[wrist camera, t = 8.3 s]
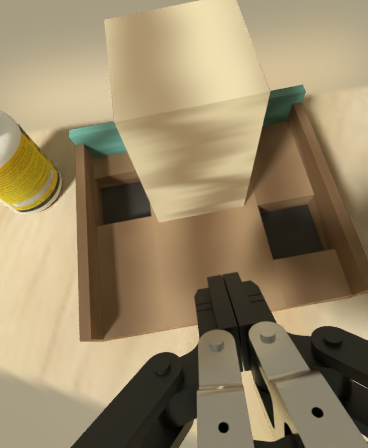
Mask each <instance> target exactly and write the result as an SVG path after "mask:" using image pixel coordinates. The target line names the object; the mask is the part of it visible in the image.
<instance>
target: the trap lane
mask: <svg viewBox="0 0 368 448" xmlns="http://www.w3.org/2000/svg"><path fill="white" fill-rule="evenodd" d="M305 92H306V91H305V89H304V87H303V85H299V86H294V87H289V88H284V89H278V90H273V91H270V95H269V100H268V104H267V108H266V113H265V117H264V121H263V126H262V130H261V134H260V139H259V143H258V147H257V151H256V156H255V160H254V164H253V169H252V173H251V177H250V182H249V186H248V190H247V195H246V199H245V203H244V206H243V207H238V208H232V209H227V210H222V211H217V212H211V213H206V214H201V215H196V216H190V217H185V218H180V219H175V220H169V221H164V222H159V221H158V219H157V217H156V215H155V212H154V210H153V208H152V206H151V203H150V201H149V199H148V197H147V195H146V192H145V190H144V188H143V186H142V183H141V181H140V179H139V177H138V174H137V172H136V170H135V168H134V165H133V163H132V161H131V159H130V156H129V154H128V152H127V150H126V147H125V145H124V143H123V141H122V138H121V136H120V134H119V132H118V130H117V127H116V125H115V123H114V121H113V122H108V123H103V124H98V125H93V126H88V127H82V128H77V129H72V130H69V138H70V139H71V141H72V142H73V144H74V145H75V170H76V210H77V250H78V289H79V329H80V341H93V342H103V341H109V340H114V339H120V338H125V337H131V336H137V335H142V334H148V333H154V332H159V331H165V330H170V329H176V328H182V327H187V326H193V325H198V321H197V314H196V306H195V299H194V296H195V294H196V292H197V290H198V289H203V288H208V283H207V277H210V276H216V275H222V277H223V274H227V273H233V272H238V273H239V276H240V278H241V281H242V282H244V281H250V280H251V281H252V282H254V283H255V284H256V285H258V286H259V288H260V290H261V292H262V295H263V296H264V298H265V301H266V302H267V305H268V307H269V309H270V311H271V312H272V311H277V310H283V309H289V308H294V307H300V306H305V305H311V304H317V303H322V302H328V301H334V300H339V299H345V298H350V297H353V296H356V295H359V294H362V293H366V292H368V260H367V258H366V256H365V253H364V251H363V248H362V246H361V243H360V241H359V239H358V236H357V234H356V231H355V229H354V227H353V224H352V222H351V219H350V217H349V214H348V212H347V210H346V207H345V205H344V202H343V200H342V198H341V195H340V193H339V190H338V188H337V185H336V183H335V181H334V178H333V176H332V173H331V171H330V169H329V166H328V164H327V161H326V159H325V156H324V154H323V152H322V149H321V147H320V144H319V142H318V140H317V137H316V135H315V132H314V130H313V127H312V125H311V123H310V120H309V118H308V115H307V113H306V111H305V108H304V106H303V103H302V100H303V98H304V95H305Z"/></svg>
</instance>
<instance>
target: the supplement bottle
mask: <svg viewBox="0 0 368 448" xmlns="http://www.w3.org/2000/svg"><path fill="white" fill-rule="evenodd" d="M61 186H62V178H61V175H60V172H59V171H58V169H57V168H56V167H55V165H54V164H53V163H52V162H51V161H50V160H49V159H48V157H47V156H46V155H45V154H44V153H43V152H42V151H41V150H40V148H39V147H38V146H37V145H36V144H35V143H34V142H33V141H32V139H31V138H30V137H29V136H28V135H27V134H26V133H25V131H24V130H23V129H22V128H21V127H20V126H19V124H17V123H16V121H15V120H14V119H13V118H12V117H10V116H9V115H8V114H6V113H5V112H3V111H0V203H2V204H3V205H4V206H6V207H7V208H9V209H11V210H12V211H14V212H17V213H20V214H33V213H37V212H40V211H42V210H44V209H46V208H47V207H49V206H50V205H51V204H52V203H53V202H54V201H55V200H56V198H57V197H58V195H59V193H60V190H61Z"/></svg>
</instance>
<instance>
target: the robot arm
mask: <svg viewBox="0 0 368 448" xmlns="http://www.w3.org/2000/svg"><path fill="white" fill-rule="evenodd" d="M207 283H208V288H203V289H198V290H197V292H196V294H195V296H194V299H195V306H196V314H197V321H198V329H199V342H198V344H197V346H196V347H195V348H194V349H193V350H192V351H191V352H190V353H188V354H186V355H184V356H182V357H178V356H177V355H176V354H174V353H170V352H163V353H159V354H156V355H155V356H153V357H152V358H150V359H149V360H148V361H147V362H146V364H145V365H144V366H143V367H142V368H141V369H140V370H139V371H138V373H137V374H136V375H135V376H134V377H133V378H132V379H131V380H130V382H129V383H128V384H127V385H126V386H125V387H124V388H123V389H122V391H121V392H120V393H119V394H118V395H117V396H116V397H115V398H114V399H113V401H112V402H111V403H110V404H109V405H108V406H107V407H106V408H105V410H104V411H103V412H102V413H101V414H100V415H99V416H98V417H97V419H96V420H95V421H94V422H93V423H92V424H91V425H90V426H89V428H88V429H87V430H86V431H85V432H84V433H83V434H82V436H81V437H80V438H79V439H78V440H77V441H76V442H75V443H74V445H73V446H72V447H71V448H179V446H180V445H181V443H182V441H183V440H184V438H185V437H186V435H187V433H188V432H189V430H190V429H191V427H192V425H193V421H194V419H196V418H197V443H198V448H368V442H366V440H365V439H364V437H363V436H362V434H363V435H364V436H366V437H367V438H368V389H367V388H368V340H365V339H363V338H361V337H358V336H356V335H354V334H352V333H349V332H347V331H345V330H343V329H340V328H337V327H332V326H323V327H319V328H317V329H315V330H314V331H313V333H312V335H311V336H300V335H294V334H290V333H288V332H286V331H285V329H284V328H283V327H282V326H280V325H279V324H277V323H276V321H275V319H274V317H273V315H272V313H271V311H270V309H269V307H268V305H267V302H266V301H265V298H264V296H263V295H262V292H261V290H260V288H259V286H258V285H256V284H255V283H254V282H252V281H251V280H250V281H244V282H242V281H241V278H240V276H239V273H238V272H233V273H227V274H223V277H222V275H216V276H210V277H207ZM242 363H243V366H244V370H245V371H249V370H251V372H252V375H253V379H254V388H255V391H256V393H257V396H258V399H259V401H260V404H261V406H262V409H263V411H264V414H265V417H266V419H267V422H268V424H269V427H270V429H271V432H272V435H273V438H274V442H266V441H258V440H253V438H252V432H251V426H250V421H249V415H248V409H247V404H246V398H245V392H244V387H243V385H242V378H241V372H243V366H242ZM353 380H354V381H356V382H357V383H356V382H354V381H353ZM358 383H359V384H361V385H363V386H365V387H367V388H365V387H363V386H361V385H359V384H358Z"/></svg>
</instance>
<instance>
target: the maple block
mask: <svg viewBox="0 0 368 448" xmlns="http://www.w3.org/2000/svg"><path fill="white" fill-rule="evenodd" d="M104 21H105V32H106V40H107V41H106V42H107V52H108V63H109V73H110V82H111V93H112V103H113V114H114V123H115V125H116V127H117V130H118V132H119V134H120V136H121V138H122V141H123V143H124V145H125V147H126V150H127V152H128V154H129V156H130V159H131V161H132V163H133V165H134V168H135V170H136V172H137V174H138V177H139V179H140V181H141V183H142V186H143V188H144V190H145V192H146V195H147V197H148V199H149V201H150V203H151V206H152V208H153V210H154V212H155V215H156V217H157V219H158V221H159V222H164V221H169V220H175V219H180V218H185V217H190V216H196V215H201V214H206V213H211V212H217V211H222V210H227V209H232V208H238V207H243V206H244V203H245V199H246V195H247V190H248V186H249V182H250V177H251V173H252V169H253V164H254V160H255V156H256V151H257V147H258V143H259V139H260V134H261V130H262V126H263V121H264V117H265V113H266V108H267V104H268V100H269V95H270V89H269V87H268V84H267V81H266V78H265V76H264V73H263V70H262V68H261V65H260V62H259V60H258V57H257V54H256V52H255V49H254V46H253V44H252V41H251V38H250V36H249V33H248V30H247V28H246V25H245V22H244V19H243V17H242V14H241V11H240V9H239V6H238V4H237V1H236V0H200V1H195V2H190V3H185V4H180V5H175V6H170V7H165V8H160V9H156V10H151V11H146V12H141V13H136V14H131V15H126V16H122V17H117V18H112V19H107V20H104Z"/></svg>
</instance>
